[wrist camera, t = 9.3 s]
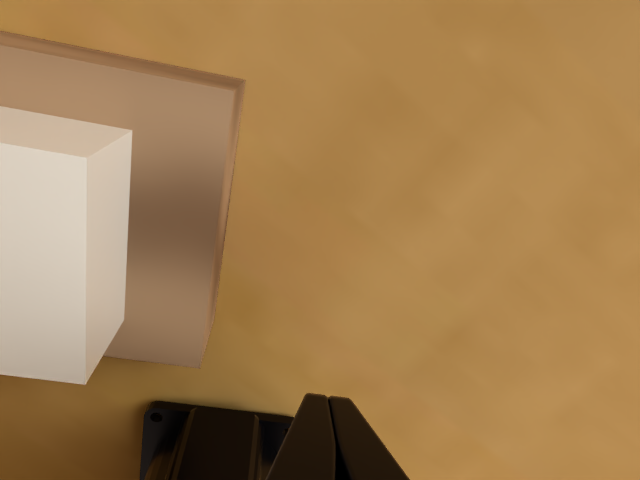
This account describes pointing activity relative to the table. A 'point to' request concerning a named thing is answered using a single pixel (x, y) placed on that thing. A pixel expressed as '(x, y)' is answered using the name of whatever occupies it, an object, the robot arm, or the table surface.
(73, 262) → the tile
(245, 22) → the table surface
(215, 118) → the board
